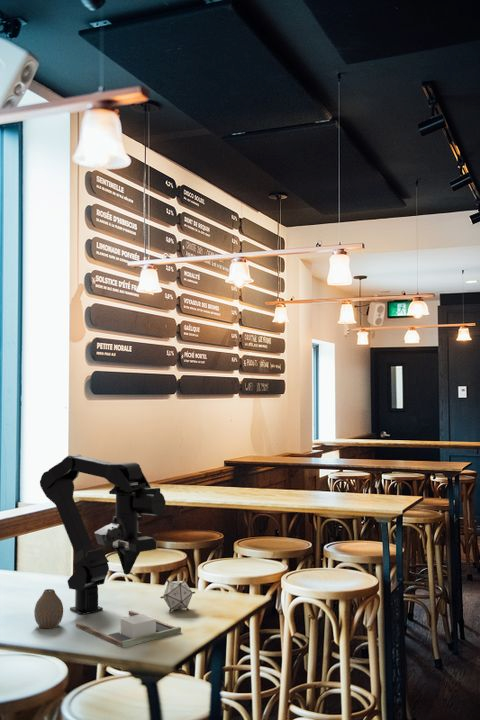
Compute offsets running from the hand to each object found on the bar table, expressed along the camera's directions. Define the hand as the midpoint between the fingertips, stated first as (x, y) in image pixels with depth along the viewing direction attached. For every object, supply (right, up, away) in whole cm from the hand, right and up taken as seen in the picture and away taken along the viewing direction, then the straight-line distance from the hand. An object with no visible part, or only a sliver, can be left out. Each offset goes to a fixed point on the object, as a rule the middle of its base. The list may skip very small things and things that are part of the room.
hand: (126, 574), depth 195 cm
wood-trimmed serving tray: (+2, -11, -10) cm, 14 cm away
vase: (-18, -11, -7) cm, 22 cm away
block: (+5, -11, -14) cm, 18 cm away
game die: (+12, -12, +6) cm, 18 cm away
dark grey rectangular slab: (+5, -10, -14) cm, 18 cm away
